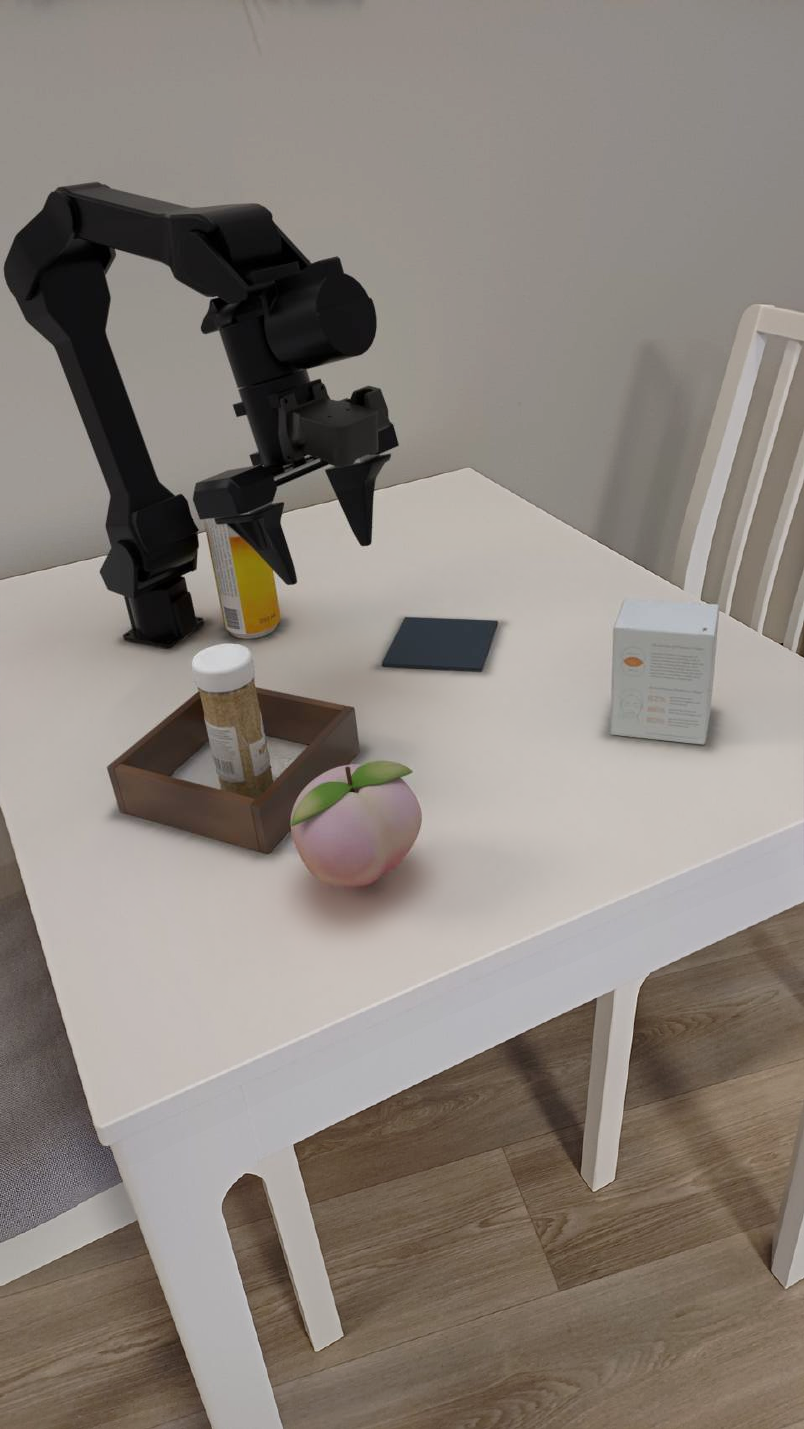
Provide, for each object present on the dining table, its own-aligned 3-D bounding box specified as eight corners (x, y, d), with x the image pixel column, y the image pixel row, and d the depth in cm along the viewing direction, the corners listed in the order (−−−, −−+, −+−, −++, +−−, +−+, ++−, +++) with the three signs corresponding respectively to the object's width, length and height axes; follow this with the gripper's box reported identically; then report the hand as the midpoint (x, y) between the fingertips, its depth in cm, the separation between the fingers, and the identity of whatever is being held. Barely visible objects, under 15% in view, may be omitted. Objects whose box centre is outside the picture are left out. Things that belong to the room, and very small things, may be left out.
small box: (711, 711, 87) (722, 603, 81) (705, 747, 82) (717, 635, 77) (618, 701, 89) (623, 595, 83) (608, 735, 85) (612, 626, 79)
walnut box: (119, 811, 81) (106, 766, 79) (222, 720, 92) (213, 678, 89) (268, 854, 75) (259, 807, 73) (360, 750, 86) (355, 707, 83)
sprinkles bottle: (287, 801, 80) (262, 657, 73) (236, 823, 78) (205, 677, 71) (262, 775, 84) (235, 635, 76) (212, 796, 82) (180, 654, 75)
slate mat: (381, 666, 98) (381, 663, 98) (405, 620, 106) (404, 616, 106) (481, 671, 96) (481, 668, 95) (497, 623, 104) (497, 620, 103)
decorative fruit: (373, 823, 77) (360, 715, 72) (445, 872, 72) (436, 759, 66) (274, 882, 72) (252, 770, 67) (343, 939, 67) (325, 823, 61)
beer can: (291, 618, 108) (271, 486, 100) (262, 644, 104) (239, 508, 96) (245, 611, 111) (221, 482, 103) (214, 636, 106) (187, 502, 98)
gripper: (247, 393, 68) (316, 605, 73) (420, 334, 79) (468, 521, 85) (158, 415, 75) (227, 606, 81) (327, 359, 87) (377, 529, 93)
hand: (330, 564), depth 85 cm, fingers open, 9 cm apart
